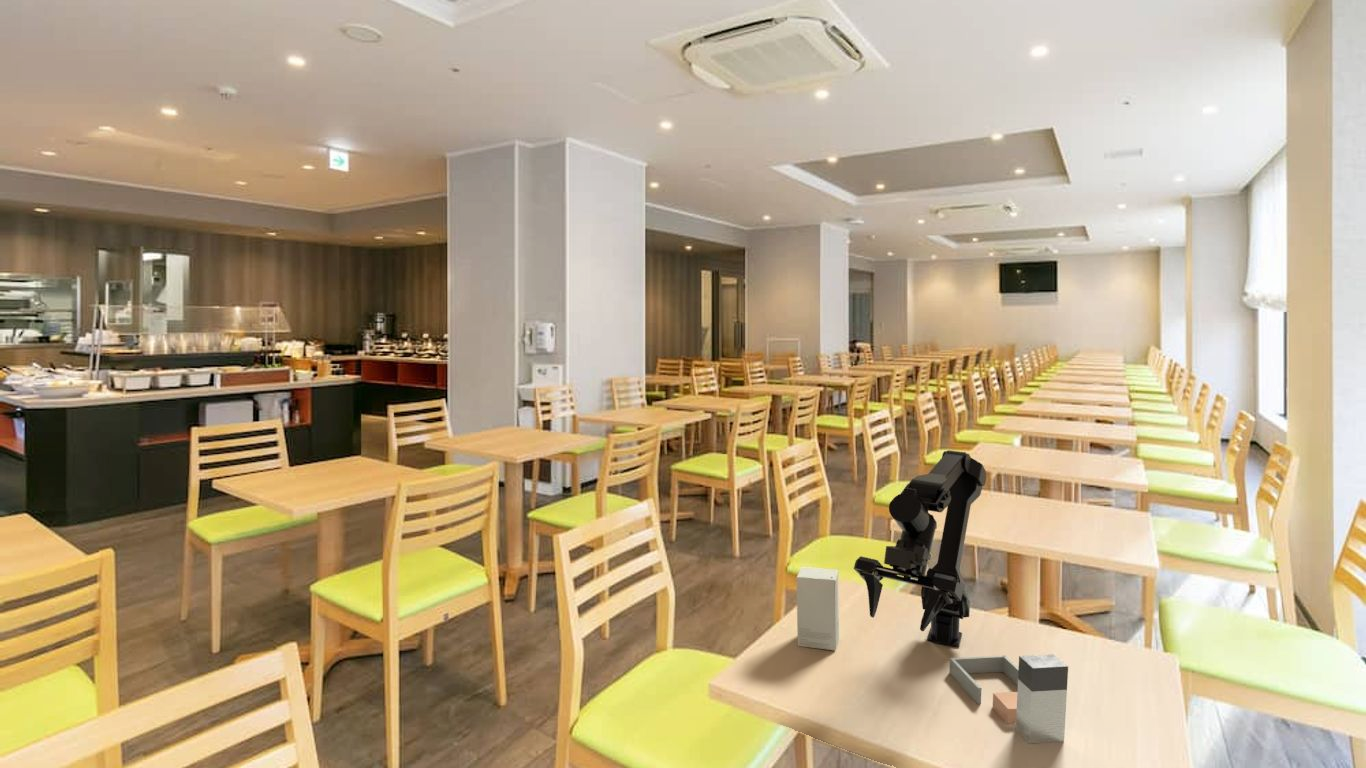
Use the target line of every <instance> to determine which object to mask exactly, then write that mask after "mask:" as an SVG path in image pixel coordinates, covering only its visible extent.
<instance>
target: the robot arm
mask: <svg viewBox="0 0 1366 768" xmlns="http://www.w3.org/2000/svg"><path fill="white" fill-rule="evenodd" d="M986 481H987V471H986V468H985V467H984V465H983V463H981V462H979V461H977V460H976V459H975V458H972V457H971V455H970V453H967V452H966V451H959V450H958V451H957V450H951V449H949V450H944V451H943V453H942V456H941V458H940V459H939V460H938V462H937V463H936V464H935V465H934V466H933V467H932V469H931V470H929V472H928V473H926V474H921V475H920V474H919V475H917V476H915V477H914V478H912V479H911V480H910V481H909V483H907V484H906V486H905V487H904V488H903V490H902V491H901V492H900V493H899V494H897V495H896V496H894V497H893V498H892V500H891V501H890V502H889V505H888V512H889V515H890V517H892V518H893V520H894V521H895V523H896V525H898V527H900V529H901V530H902V531H901V534H900V539H897V541H896V543H895V545H886V547H885V554H884V560H883V561H884V562H883V564H884V565H888V566H889V567H892V568H889V567H886V566H883V564H881V562H880V561H879V560H877V559H875V558H870V557H867V556H866V557H865V556H861V555H860V556H859V557H858V558H857V559H856V560H855V561H854V566H853V570H854V571H856V573H858V575H859V577H861V579H863V580H864V581H865V584H866V588H867V589H866V590H867V594H868V606H869V607H868V608H869V616H870V617H871V618H875V615H876V613H877V609H878V606H879V602H880V597H881V594H882V590H883V585H884V584H883V583H882V582H881V581H882V580H883V579H885V578H886V579H889V580H893V581H898V582H902V583H906V584H911V585H915V586H920V587H921V590H920V597H921V604H922V606H921V607H922V610H924V612H923V614H922V618H921V621H920V626H919V629H920V631H921V632H925V630H926V629H927V627H928V626H929V624H930V628H929V631H928V634H927V637H926V641H928V642H932V643H937V644H941V645H942V644H943V645H947V646H952V647H957V648H959V647H960V645H961V641H962V636H963V632H961V631H960V619H961V620H964V619H965V618H969V617H970V611H971V606H970V604H971V603H970V601H971V600H970V598H969V597H968V594H967V592H966V591H965V587H966V583H965V581H964V579H963V578H964V577H963V575H962V573H961V570H960V568H961V564H962V557H963V551H964V546H965V540H966V539H965V538H966V533H967V529H968V528H967V527H968V521H969V517H970V511H971V506H972V504H973V503H974V502H975V501H976V500H978V498H979V497H980V496H981V494H982V489H983V487H984V486H985V485H986ZM946 508H947V509H946ZM945 509H946V513H945V520H944V523H943V524H944V525H943V529H942V536H941V541H940V546H939V553H938V557H937V562H936V563H935V565H934V566H933V567H931V568H928V570H927V567H928V563H929V561H930V560H931V559H932V554H931V550H932V545H933V541H934V538H935V532H936V530H937V528H938V527H937V523H938V522H937V521H936V519H935V518H934V515H933V514H931V513H929V511H930V512H935V513H942V512H943V511H944V510H945Z"/></svg>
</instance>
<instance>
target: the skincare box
mask: <svg viewBox="0 0 1366 768" xmlns="http://www.w3.org/2000/svg"><path fill="white" fill-rule="evenodd" d="M839 600H840V599H839V569H834V568H833V569H832V568H821V567H809V566H801V567H800V569H799V572H798V573H797V576H796V615H797V616H796V617H797V618H796V619H797V623H796V624H797V625H796V627H797V628H796V629H797V630H796V631H797V647H803V648H804V647H805V648H812V649H819V650H828V651H836V650H837V647H838V642H839V638H840V623H839V622H840V619H839V618H840V617H839V613H840V611H839V609H840V608H839V604H840V603H839V602H840V601H839Z"/></svg>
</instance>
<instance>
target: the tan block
mask: <svg viewBox="0 0 1366 768" xmlns="http://www.w3.org/2000/svg"><path fill="white" fill-rule="evenodd" d="M992 709H993V710H995V712H996V713H997V714H998V715H999V716H1000V718H1001V719H1002V720H1003V721H1004V722H1005V723H1006V724H1008V725H1014V724H1015V725H1016V712H1017V691H1008V692H1006V691H1005V692H993V693H992Z"/></svg>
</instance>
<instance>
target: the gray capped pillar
mask: <svg viewBox="0 0 1366 768" xmlns="http://www.w3.org/2000/svg"><path fill="white" fill-rule="evenodd" d="M1018 668H1019V670H1018V685H1017V691H1016V692H1017V712H1016V723H1015V730H1016V731H1017V732H1018V733H1019V734H1020V736H1021V737H1022V738H1024V740H1025V741H1026V742H1027V743H1028V744H1030V745H1031V744H1043V743H1045V744H1046V743H1047V744H1048V743H1061V742H1065V733H1066V732H1065V729H1066V716H1067V715H1066V713H1067V695H1068V693H1067V692H1068V679H1069V678H1068V677H1069V666H1068V665H1067V664H1066V663H1065V662H1064V661H1062V660H1061V659H1060V658H1058V657H1057V656H1056V655H1054V654H1053V653H1052V654H1051V653H1049V654H1037V655H1035V654H1032V655H1031V654H1030V655H1019V656H1018Z"/></svg>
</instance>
